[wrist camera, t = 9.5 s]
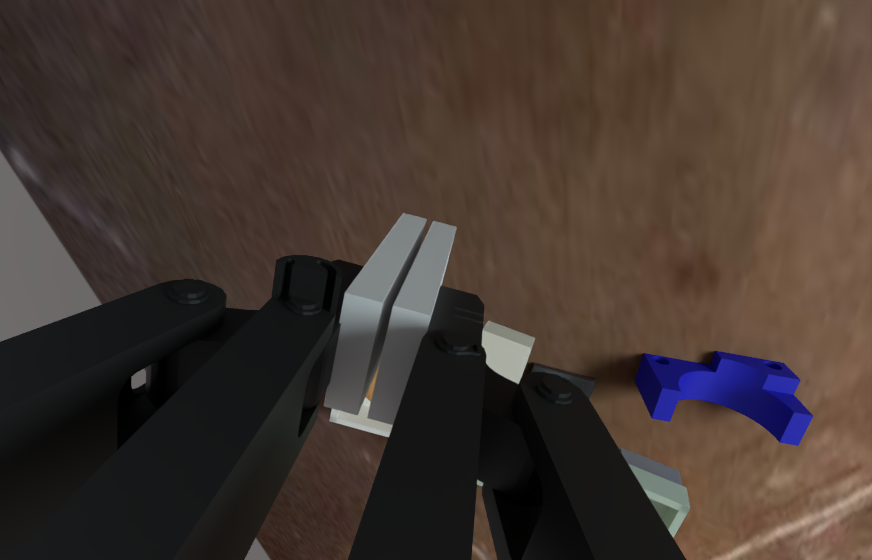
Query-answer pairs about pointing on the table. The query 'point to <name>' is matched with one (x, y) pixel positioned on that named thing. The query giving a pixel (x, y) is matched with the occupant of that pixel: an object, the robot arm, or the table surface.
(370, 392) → the ball
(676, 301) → the table surface
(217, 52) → the table surface
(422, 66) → the table surface
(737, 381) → the cable clip
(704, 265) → the table surface
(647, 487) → the lever
